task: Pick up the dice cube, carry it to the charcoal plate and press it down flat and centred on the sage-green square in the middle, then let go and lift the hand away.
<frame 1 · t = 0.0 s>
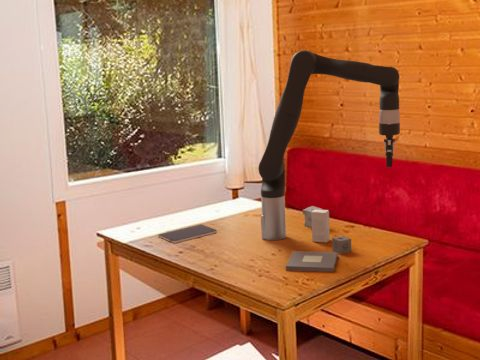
hand: (389, 164, 226), 29 cm above the table, tool pointing down, fingers open, 8 cm apart
skincare box: (320, 241, 235), on the table
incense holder: (314, 227, 254), on the table
dice cube: (341, 251, 222), on the table
plate: (312, 263, 210), on the table
notebook: (188, 236, 253), on the table
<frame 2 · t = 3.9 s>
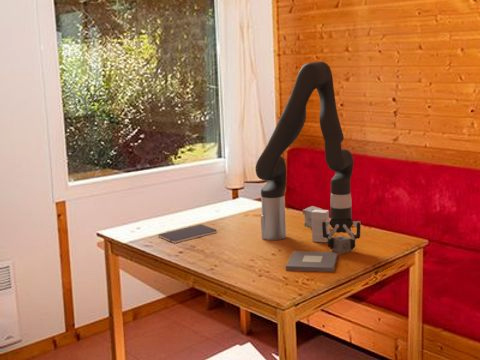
hand: (341, 248, 221), 1 cm above the table, tool pointing down, fingers closed on dice cube, 7 cm apart
dice cube: (341, 251, 222), on the table, touching gripper
everything else where it was.
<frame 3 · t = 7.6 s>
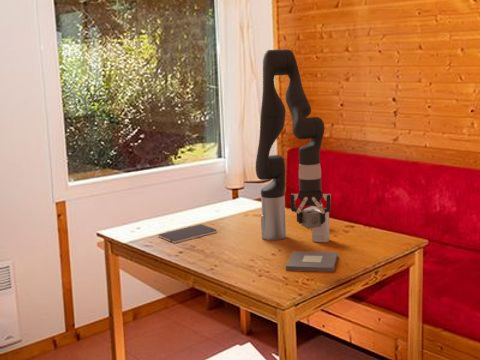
hand: (311, 223, 208), 14 cm above the table, tool pointing down, fingers closed on dice cube, 7 cm apart
dice cube: (311, 226, 208), point 13 cm above the table, touching gripper
everything else where it was.
when the fingers open (2 cm above the table, at t = 11.1 s): dice cube stays where it is, resting on plate.
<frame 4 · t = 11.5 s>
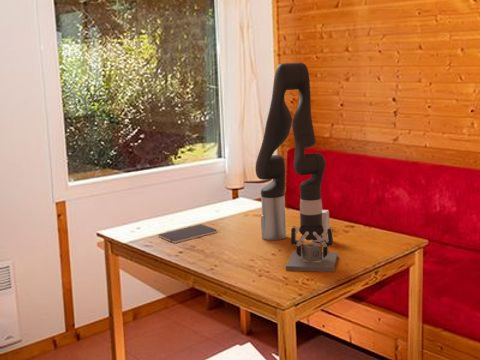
hand: (312, 256, 210), 3 cm above the table, tool pointing down, fingers open, 8 cm apart
dice cube: (312, 259, 210), point 1 cm above the table, touching plate
everything else where it was.
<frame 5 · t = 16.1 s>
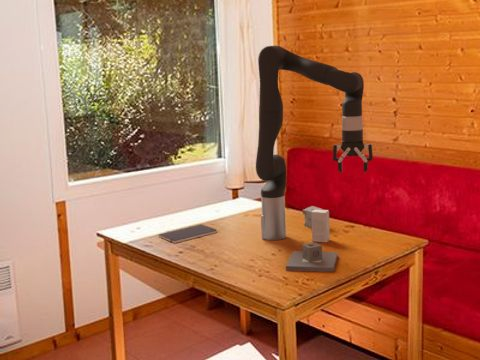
hand: (352, 172, 221), 28 cm above the table, tool pointing down, fingers open, 8 cm apart
nothing on the table moved.
at the end: dice cube 0.0 cm off-centre on the plate, point 1.4 cm above the plate's base; dice cube tilted 0°; the gripper is holding nothing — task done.
